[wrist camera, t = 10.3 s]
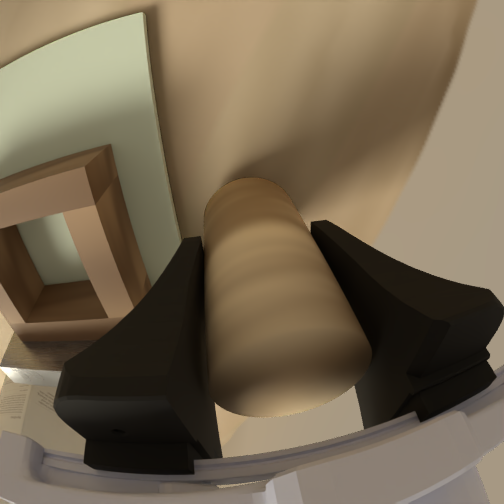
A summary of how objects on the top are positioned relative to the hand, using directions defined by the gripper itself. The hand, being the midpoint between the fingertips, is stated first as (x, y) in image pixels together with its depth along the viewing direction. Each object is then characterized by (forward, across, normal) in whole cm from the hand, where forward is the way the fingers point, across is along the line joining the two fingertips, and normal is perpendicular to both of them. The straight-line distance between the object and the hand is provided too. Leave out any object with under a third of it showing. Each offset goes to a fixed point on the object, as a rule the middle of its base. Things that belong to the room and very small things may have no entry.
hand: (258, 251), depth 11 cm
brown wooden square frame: (+3, +9, 0) cm, 10 cm away
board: (+3, +9, -2) cm, 10 cm away
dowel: (+2, 0, 0) cm, 2 cm away
